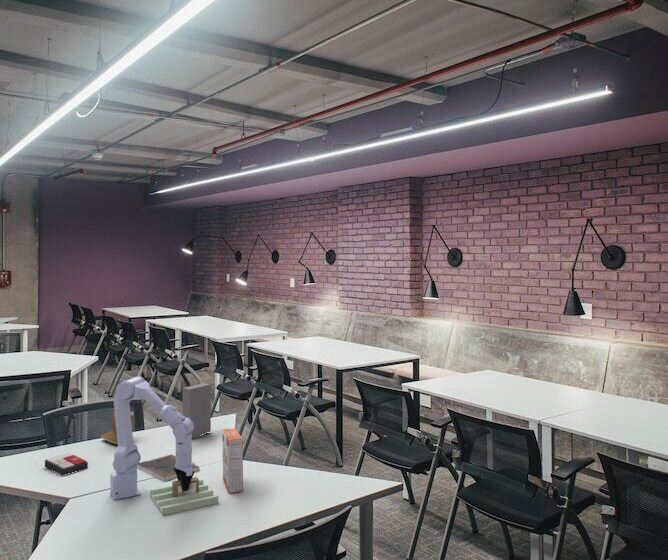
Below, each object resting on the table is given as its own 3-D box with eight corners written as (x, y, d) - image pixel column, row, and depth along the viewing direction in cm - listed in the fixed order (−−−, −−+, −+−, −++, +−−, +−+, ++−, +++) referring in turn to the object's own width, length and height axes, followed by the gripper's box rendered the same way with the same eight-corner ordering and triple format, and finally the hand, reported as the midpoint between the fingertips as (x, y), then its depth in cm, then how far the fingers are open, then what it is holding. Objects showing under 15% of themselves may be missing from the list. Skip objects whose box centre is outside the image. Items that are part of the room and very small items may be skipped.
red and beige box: (63, 468, 235) (44, 458, 244) (62, 478, 236) (44, 468, 244) (88, 460, 244) (69, 451, 253) (88, 470, 244) (69, 460, 253)
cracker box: (221, 480, 232) (221, 428, 231) (236, 478, 234) (236, 427, 233) (227, 494, 219) (227, 439, 218) (243, 491, 221) (243, 438, 220)
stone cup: (138, 442, 278) (138, 411, 277) (114, 448, 269) (114, 416, 269) (123, 435, 288) (123, 405, 288) (100, 440, 280) (100, 410, 279)
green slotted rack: (163, 515, 201) (163, 508, 201) (150, 496, 217) (150, 489, 216) (218, 503, 211) (218, 496, 211) (202, 485, 227) (202, 479, 227)
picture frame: (137, 469, 245) (164, 483, 230) (137, 463, 245) (164, 477, 230) (171, 459, 257) (199, 472, 242) (171, 453, 257) (199, 466, 242)
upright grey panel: (202, 431, 296) (202, 382, 295) (211, 433, 292) (211, 384, 291) (181, 438, 285) (181, 387, 283) (189, 440, 281) (189, 389, 280)
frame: (174, 500, 210) (174, 484, 210) (172, 497, 213) (172, 481, 213) (198, 495, 215) (199, 479, 215) (196, 492, 218) (196, 476, 218)
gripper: (200, 456, 209) (200, 493, 209) (188, 445, 221) (188, 479, 222) (181, 460, 205) (181, 497, 206) (170, 448, 218) (170, 483, 218)
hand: (183, 488), depth 214 cm, fingers closed on frame, 3 cm apart
